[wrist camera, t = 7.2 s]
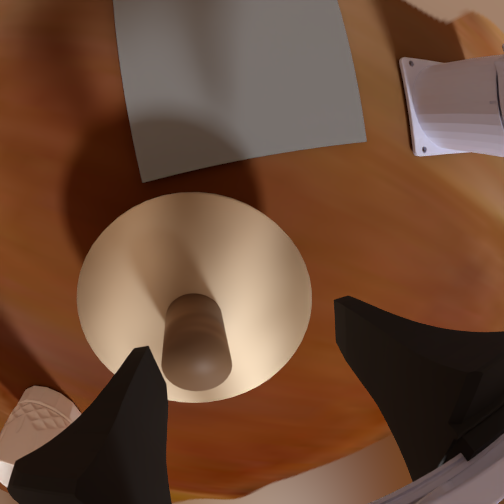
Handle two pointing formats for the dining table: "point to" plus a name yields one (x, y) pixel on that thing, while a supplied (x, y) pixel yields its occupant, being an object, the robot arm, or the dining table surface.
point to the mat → (234, 80)
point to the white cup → (33, 425)
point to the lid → (196, 294)
